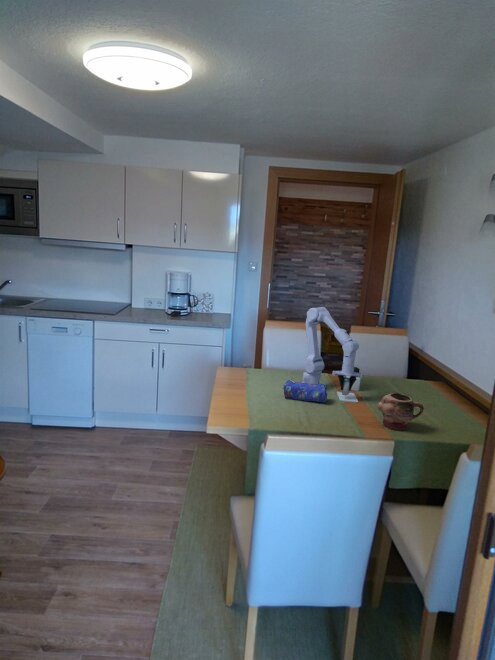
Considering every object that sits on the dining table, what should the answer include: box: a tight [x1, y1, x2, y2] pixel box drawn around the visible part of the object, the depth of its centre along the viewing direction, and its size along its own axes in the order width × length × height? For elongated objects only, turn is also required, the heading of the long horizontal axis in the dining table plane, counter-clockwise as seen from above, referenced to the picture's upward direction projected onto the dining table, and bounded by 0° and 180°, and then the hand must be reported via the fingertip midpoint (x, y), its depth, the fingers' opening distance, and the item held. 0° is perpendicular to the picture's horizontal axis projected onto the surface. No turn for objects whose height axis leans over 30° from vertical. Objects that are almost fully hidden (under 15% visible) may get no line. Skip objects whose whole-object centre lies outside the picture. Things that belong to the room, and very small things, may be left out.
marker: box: [341, 376, 350, 395], centre depth 222 cm, size 4×4×8 cm
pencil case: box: [282, 379, 328, 404], centre depth 218 cm, size 22×9×10 cm, turn 78°
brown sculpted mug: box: [376, 392, 425, 431], centre depth 193 cm, size 20×12×14 cm, turn 93°
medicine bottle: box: [344, 366, 361, 392], centre depth 240 cm, size 7×7×12 cm
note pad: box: [336, 390, 359, 404], centre depth 226 cm, size 9×13×1 cm
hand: (345, 389), depth 222 cm, fingers closed on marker, 3 cm apart
